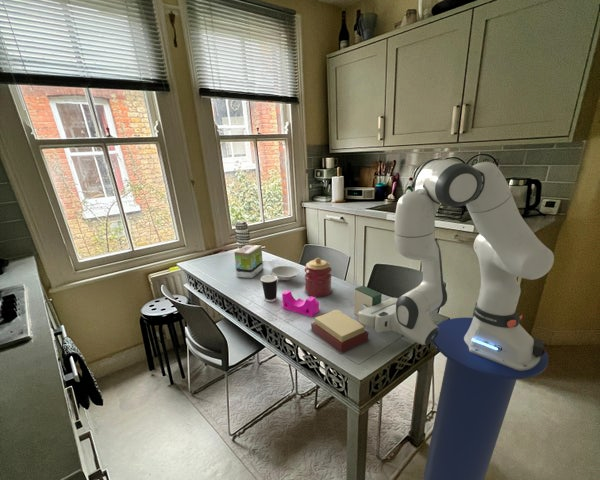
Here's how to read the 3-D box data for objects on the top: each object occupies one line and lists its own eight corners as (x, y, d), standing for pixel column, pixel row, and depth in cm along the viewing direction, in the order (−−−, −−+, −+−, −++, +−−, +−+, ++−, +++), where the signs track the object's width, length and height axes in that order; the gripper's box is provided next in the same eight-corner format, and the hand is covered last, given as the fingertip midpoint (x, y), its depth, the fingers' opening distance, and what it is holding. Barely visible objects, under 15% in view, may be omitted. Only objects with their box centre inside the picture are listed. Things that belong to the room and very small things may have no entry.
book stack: (368, 340, 117) (369, 326, 114) (341, 353, 111) (341, 338, 108) (336, 320, 131) (336, 307, 128) (311, 330, 124) (310, 317, 122)
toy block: (319, 310, 139) (318, 295, 136) (311, 316, 134) (311, 301, 131) (291, 302, 147) (290, 288, 144) (283, 308, 142) (282, 293, 139)
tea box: (252, 278, 174) (250, 253, 168) (236, 277, 177) (233, 252, 171) (263, 268, 187) (261, 244, 181) (248, 267, 190) (245, 243, 184)
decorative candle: (252, 262, 198) (247, 222, 188) (237, 263, 198) (232, 223, 188) (253, 257, 207) (249, 219, 196) (239, 258, 206) (234, 220, 196)
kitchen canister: (335, 294, 152) (335, 260, 145) (309, 299, 149) (308, 264, 142) (325, 284, 164) (325, 252, 156) (302, 288, 161) (300, 255, 153)
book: (380, 320, 125) (381, 293, 120) (371, 324, 123) (373, 297, 118) (361, 311, 133) (363, 285, 128) (353, 314, 131) (354, 288, 126)
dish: (265, 278, 174) (264, 270, 171) (285, 271, 182) (285, 263, 180) (285, 288, 161) (284, 279, 159) (306, 280, 170) (306, 271, 167)
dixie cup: (282, 299, 150) (280, 278, 145) (267, 304, 146) (265, 283, 141) (273, 294, 156) (272, 273, 151) (259, 298, 151) (257, 277, 147)
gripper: (414, 301, 118) (386, 289, 129) (375, 318, 108) (348, 303, 119) (412, 316, 121) (385, 303, 132) (374, 334, 111) (348, 318, 122)
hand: (367, 303), depth 125 cm, fingers closed on book, 4 cm apart
